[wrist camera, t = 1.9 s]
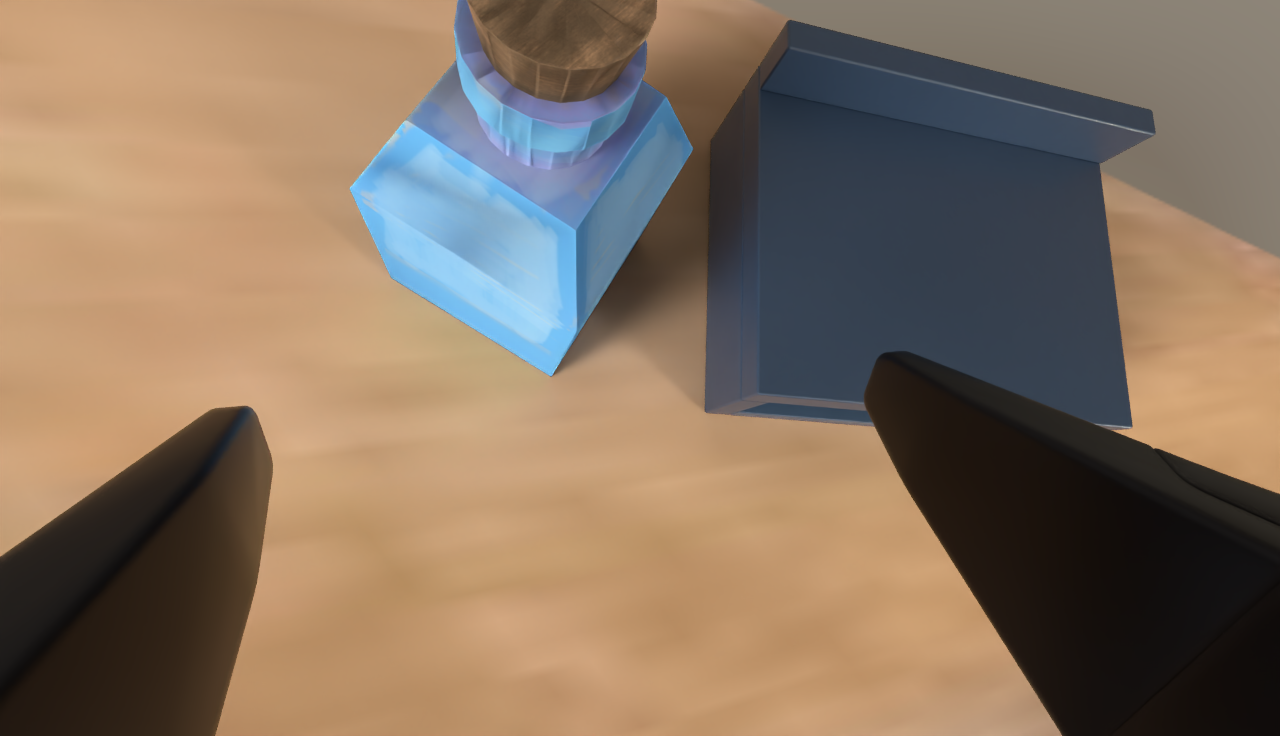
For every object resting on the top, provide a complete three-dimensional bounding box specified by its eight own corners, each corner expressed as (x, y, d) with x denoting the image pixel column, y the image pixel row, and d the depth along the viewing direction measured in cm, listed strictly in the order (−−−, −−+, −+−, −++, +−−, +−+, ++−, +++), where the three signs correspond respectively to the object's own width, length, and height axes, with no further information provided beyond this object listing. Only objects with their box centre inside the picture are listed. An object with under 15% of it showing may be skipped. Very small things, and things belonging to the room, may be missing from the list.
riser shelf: (1022, 438, 25) (1200, 422, 18) (703, 413, 21) (791, 383, 15) (1000, 195, 27) (1153, 109, 21) (710, 140, 24) (788, 17, 18)
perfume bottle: (551, 376, 20) (630, 236, 9) (391, 277, 20) (256, -11, 8) (638, 238, 22) (798, -26, 11) (494, 143, 21) (501, -245, 10)
